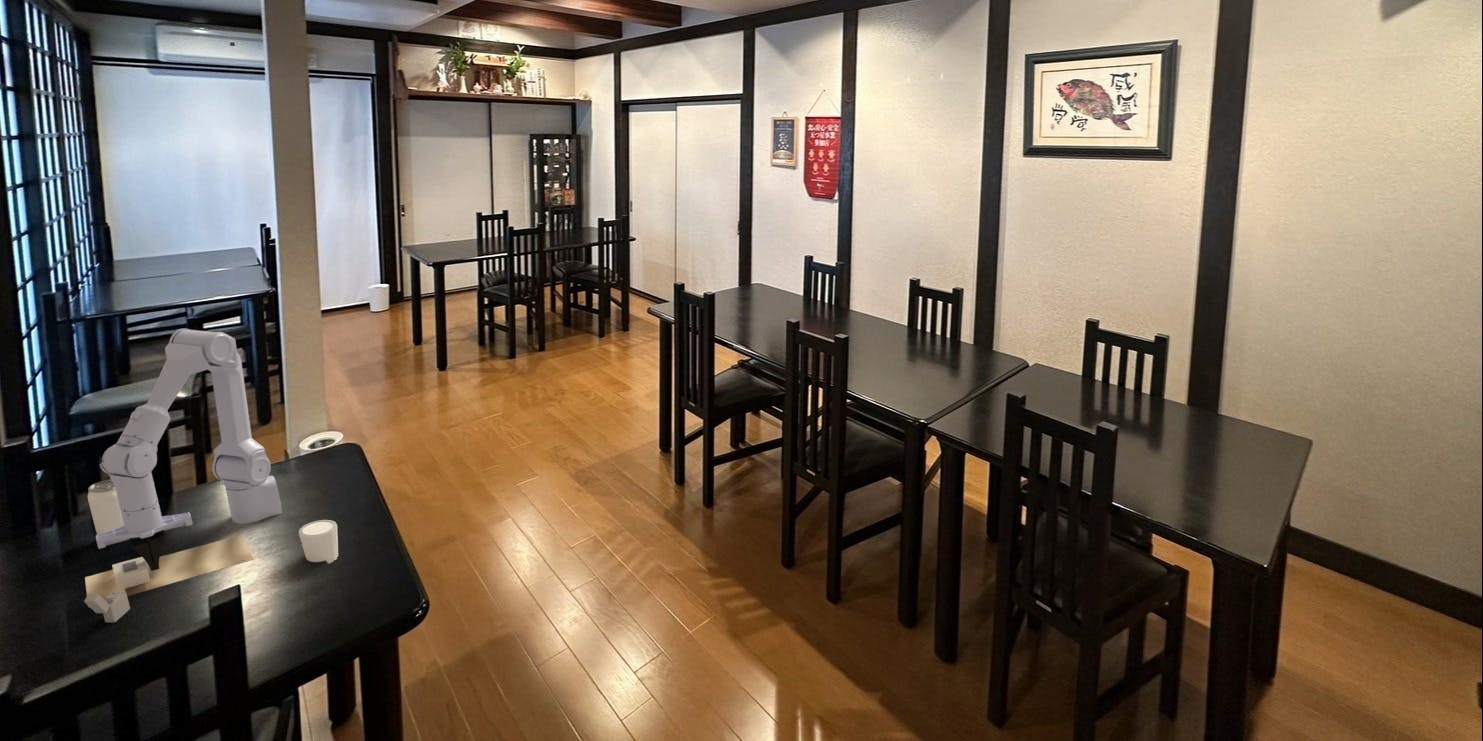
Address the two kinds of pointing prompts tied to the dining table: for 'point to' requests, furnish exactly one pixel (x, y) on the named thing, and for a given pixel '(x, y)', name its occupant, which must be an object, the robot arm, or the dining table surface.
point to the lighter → (109, 605)
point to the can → (104, 507)
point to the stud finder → (131, 573)
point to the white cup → (320, 541)
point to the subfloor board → (178, 566)
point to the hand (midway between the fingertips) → (154, 567)
